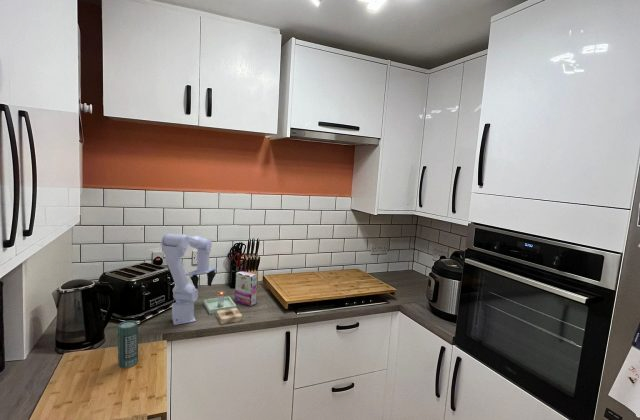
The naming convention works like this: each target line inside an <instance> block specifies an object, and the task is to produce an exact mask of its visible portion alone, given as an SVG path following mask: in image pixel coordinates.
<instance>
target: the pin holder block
mask: <svg viewBox="0 0 640 420" xmlns="http://www.w3.org/2000/svg"><path fill="white" fill-rule="evenodd" d="M215 315H216V318H217V320H218V322H219V323H220V324H221V325H226V324H230V323H231V324H233V323H238V322H243V314H242V313H241V312H240V311H239V309H238V308H237V307H236V308H232V309H225V310H219V311H216V314H215Z"/></svg>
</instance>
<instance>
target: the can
mask: <svg viewBox="0 0 640 420" xmlns="http://www.w3.org/2000/svg"><path fill="white" fill-rule="evenodd" d="M138 363H139V322H138V321H136V320H125V321H122V322H120V323H118V325H117V366H118V367H119V368H122V369H123V368H124V369H127V368H128V369H129V368H131V367H134V366H136V365H137V364H138Z"/></svg>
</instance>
